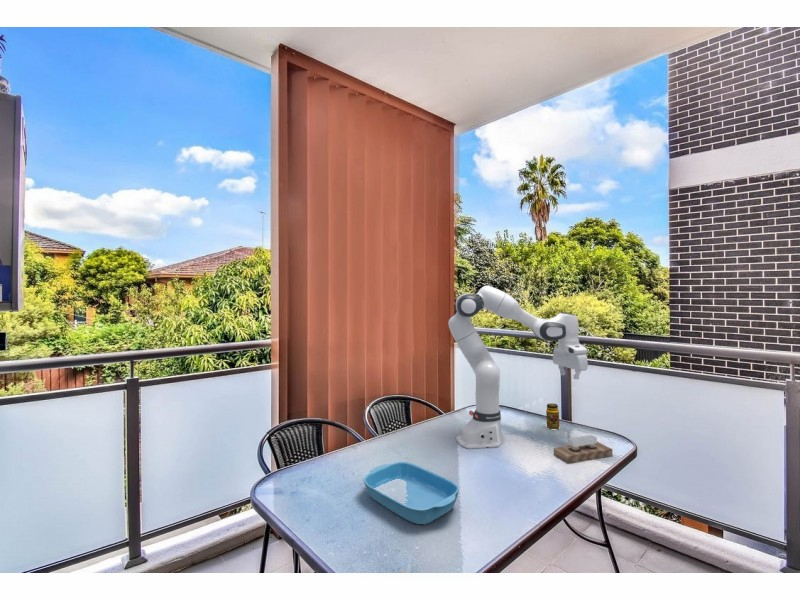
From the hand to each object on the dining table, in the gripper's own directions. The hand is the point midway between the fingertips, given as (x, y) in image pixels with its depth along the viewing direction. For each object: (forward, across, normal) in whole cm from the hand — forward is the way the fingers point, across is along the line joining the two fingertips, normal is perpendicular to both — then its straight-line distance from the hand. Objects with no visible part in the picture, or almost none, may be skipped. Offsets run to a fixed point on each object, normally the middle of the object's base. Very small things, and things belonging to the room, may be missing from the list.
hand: (569, 376), depth 177 cm
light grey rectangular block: (+30, +15, -6) cm, 34 cm away
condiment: (+30, -18, +3) cm, 35 cm away
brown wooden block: (+30, +15, -6) cm, 34 cm away
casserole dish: (+31, +27, -85) cm, 95 cm away
